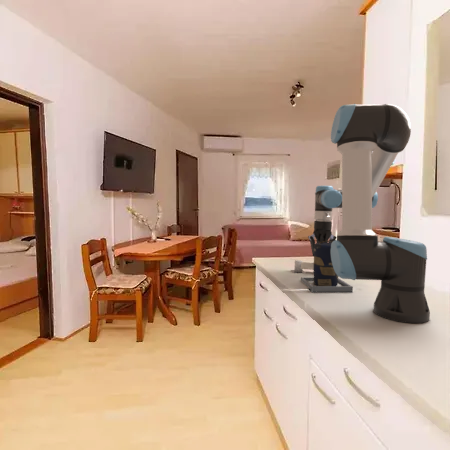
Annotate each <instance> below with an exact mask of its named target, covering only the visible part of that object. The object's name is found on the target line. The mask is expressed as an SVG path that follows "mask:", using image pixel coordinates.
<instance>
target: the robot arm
mask: <svg viewBox="0 0 450 450" xmlns="http://www.w3.org/2000/svg"><path fill="white" fill-rule="evenodd" d="M332 121H333V122H332V125H331V131H330V132H331V133H330V142H331V143H332V144H336V150H337V152H339V153H340V154H341V171H342V172H341V189H335V188H334V187H333V185H317V186H316V187H315V192H314V195H315V197H314V200H315V201H314V218H313V220H314V222H313V232H312V234H311V235H308V236H307V238H308V239H309V242H310V247H311V248H310V249H311V253H312V257H314V245H315V244H316V243H320V242H323V241H330V242H332V243H331V260H332V265H333V268H334V271H335V273H336V274H337V276H338V278H339V279H342V280H352V281H355V280H360V281H361V280H362V281H363V280H364V281H365V280H366V281H367V280H369V281H380V288H379V290H378V292H377V295H376V298H375V300H374V302H373V312H374V313H375V314H376V315H378V316H380V317H382V318H385V319H388V320H391V321H396V322H401V323H408V324H420V323H421V324H422V323H427V322H428V321H430V319H431V318H430V316H431V311H430V308H429V304H428V301H427V298H426V294H425V285H426V273H427V272H426V271H427V260H428V256H427V255H428V254H427V250H428V249H427V246H426V245H425V244H424V243H422V242H420V241H415V240H411V239H404V238H399V237H392V236H391V237H390V236H384V237H383V239H382V241H379V238H378V237H379V236H378V234H377V233H376V232H375V231H374V230H373V209H374V208H376V206H377V205H378V200H379V196H378V192H377V191H378V189H379V187H380V186H381V184H382V182H383V181H384V179H385V178H386V175H387V173H388V171H390V168H391V166H392V165H393V163H394V161H395V159H396V157H397V156H398V154H399V153H402V152H403V151H404V150H405V148H406V146H407V145H408V143H409V141H410V138H411V132H412V131H411V130H412V127H411V122H410V118H409V116H408V114H407V112H405V111H404V110H403V109H402V108H401V107H400V106H398V105H395V104H391V103H385V104H381V103H380V104H377V103H375V104H371V103H369V104H365V103H364V104H362V103H361V104H358V103H357V104H356V103H353V104H352V103H351V104H343V105H341V106H339V108H338V109H337V111H336V112H335V115H334V118H333V120H332ZM333 209H341V230H340V232H338V233H337V234H336V235H334V234H333V232H332V228H333V227H332V223H333V222H332V220H333ZM330 242H327V243H330Z"/></svg>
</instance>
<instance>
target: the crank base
mask: <svg viewBox="0 0 450 450" xmlns="http://www.w3.org/2000/svg"><path fill="white" fill-rule="evenodd" d="M294 270H295V269H290V272H292V274H307V272H306V271H305V270H304V269H302V272H295V271H294Z"/></svg>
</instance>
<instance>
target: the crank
mask: <svg viewBox="0 0 450 450" xmlns="http://www.w3.org/2000/svg"><path fill="white" fill-rule="evenodd" d="M293 270H294V271H295V272H302V270H311V271H314V261H307V260H298V259H296V260H295V259H294V269H293Z"/></svg>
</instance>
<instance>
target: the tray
mask: <svg viewBox="0 0 450 450" xmlns="http://www.w3.org/2000/svg"><path fill="white" fill-rule="evenodd" d="M313 278H314V277H300V281H301V283H303V284H304V285H305V286H306V287H308V288H306V289H307V291H308V290H309V291H310V292H311V293H314V294H315V293H317V294H318V293H333V294H334V293H338V294H339V293H353V290H354V286H353V285H351V284H349V283H347V282H346V281H344V280H343V279H342V278H340V277H338V284H340V286H339V285H337V286H317V285H313V284H311V283H310V282H313Z"/></svg>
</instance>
